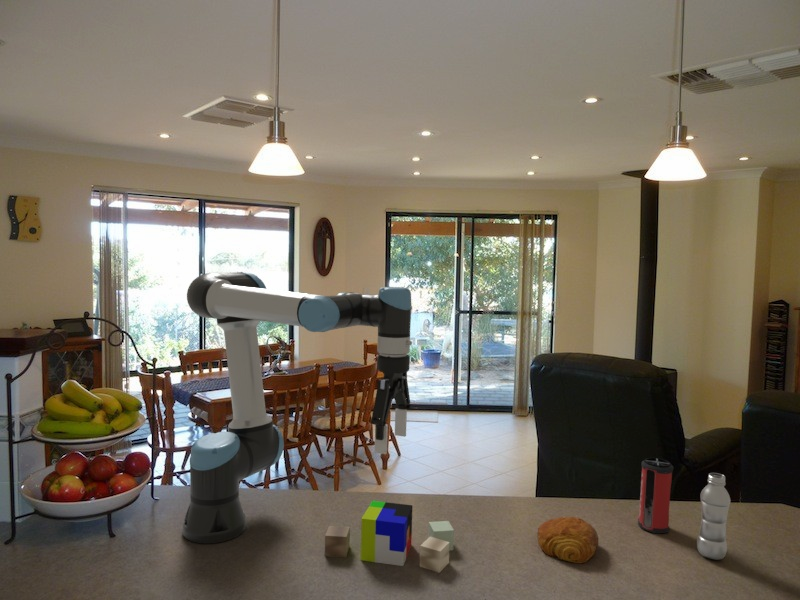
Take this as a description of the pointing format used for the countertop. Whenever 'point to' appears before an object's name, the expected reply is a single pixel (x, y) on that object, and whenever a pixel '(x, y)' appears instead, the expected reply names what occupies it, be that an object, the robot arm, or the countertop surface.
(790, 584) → the countertop surface
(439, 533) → the sage painted block
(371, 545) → the puzzle toy
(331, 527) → the brown wooden cube
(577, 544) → the croissant
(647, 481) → the speaker
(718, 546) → the plastic bottle
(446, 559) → the maple block
